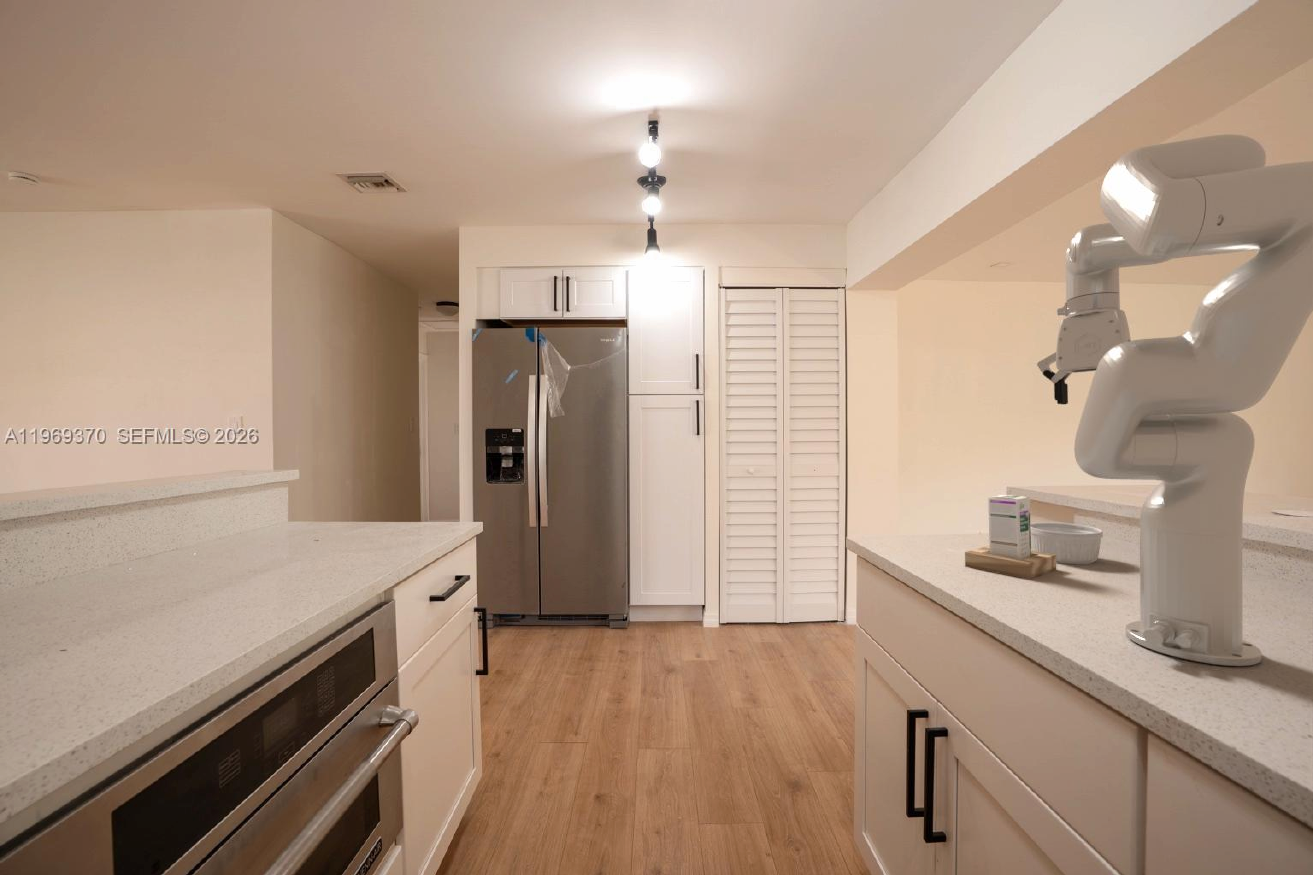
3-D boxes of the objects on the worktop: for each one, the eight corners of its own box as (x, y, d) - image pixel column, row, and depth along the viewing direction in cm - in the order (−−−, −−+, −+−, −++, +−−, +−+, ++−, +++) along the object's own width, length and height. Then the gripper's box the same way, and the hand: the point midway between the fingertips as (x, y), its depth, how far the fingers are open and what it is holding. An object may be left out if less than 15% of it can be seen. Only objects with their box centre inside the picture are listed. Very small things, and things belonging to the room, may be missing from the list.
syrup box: (1020, 570, 105) (1020, 498, 105) (988, 564, 110) (987, 496, 110) (1032, 566, 109) (1031, 496, 109) (1000, 560, 114) (999, 493, 113)
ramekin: (1100, 569, 107) (1100, 535, 107) (1022, 559, 116) (1022, 528, 116) (1104, 557, 117) (1104, 526, 117) (1032, 549, 126) (1032, 520, 126)
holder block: (1029, 579, 101) (1029, 563, 101) (965, 566, 111) (965, 552, 111) (1056, 569, 108) (1056, 554, 108) (993, 557, 118) (993, 544, 118)
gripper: (1029, 315, 101) (1031, 404, 100) (1149, 293, 87) (1152, 397, 86) (1045, 321, 105) (1046, 406, 105) (1162, 300, 91) (1165, 399, 90)
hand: (1094, 402), depth 95 cm, fingers open, 9 cm apart
